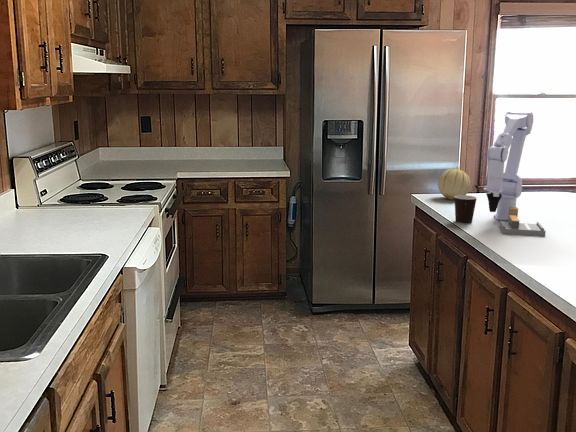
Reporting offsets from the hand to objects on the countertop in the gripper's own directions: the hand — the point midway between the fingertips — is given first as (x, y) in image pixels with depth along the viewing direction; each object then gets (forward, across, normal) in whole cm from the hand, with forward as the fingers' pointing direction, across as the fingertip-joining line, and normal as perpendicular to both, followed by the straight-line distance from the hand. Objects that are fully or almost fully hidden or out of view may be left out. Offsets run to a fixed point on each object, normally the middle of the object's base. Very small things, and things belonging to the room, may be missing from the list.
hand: (492, 211), depth 250 cm
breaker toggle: (+3, +8, +7) cm, 11 cm away
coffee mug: (+6, -3, -11) cm, 13 cm away
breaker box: (+6, +8, +10) cm, 14 cm away
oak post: (+6, -2, +8) cm, 10 cm away
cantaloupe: (+6, -52, -12) cm, 54 cm away
